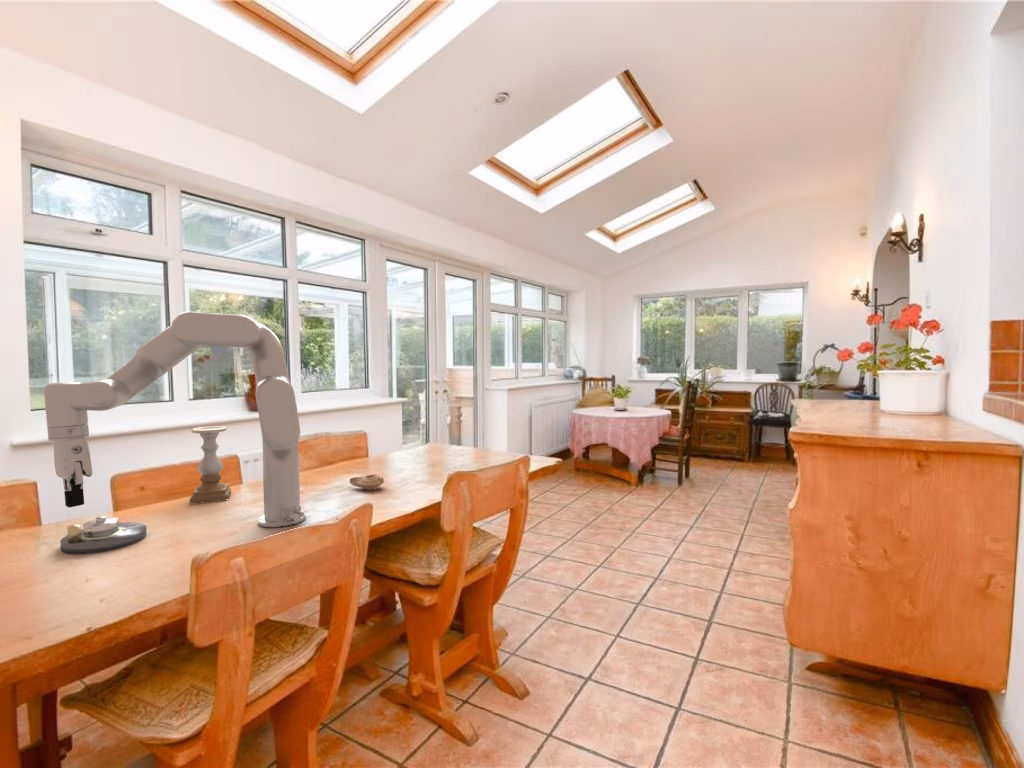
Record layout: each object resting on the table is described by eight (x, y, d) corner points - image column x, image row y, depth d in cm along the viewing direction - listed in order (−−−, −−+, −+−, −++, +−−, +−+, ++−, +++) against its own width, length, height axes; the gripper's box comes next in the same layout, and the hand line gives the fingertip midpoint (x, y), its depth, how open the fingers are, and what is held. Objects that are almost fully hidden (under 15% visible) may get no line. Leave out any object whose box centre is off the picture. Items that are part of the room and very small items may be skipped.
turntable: (162, 530, 135) (161, 508, 134) (107, 554, 118) (106, 530, 117) (103, 528, 136) (102, 507, 135) (40, 552, 119) (39, 528, 118)
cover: (125, 528, 130) (125, 513, 129) (102, 538, 123) (101, 521, 122) (100, 528, 130) (100, 512, 130) (75, 537, 123) (75, 521, 123)
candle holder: (194, 495, 169) (192, 427, 168) (231, 492, 174) (229, 425, 173) (189, 504, 159) (187, 431, 158) (228, 500, 164) (226, 429, 163)
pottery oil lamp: (354, 484, 184) (363, 466, 186) (380, 497, 181) (389, 479, 182) (343, 481, 176) (352, 463, 177) (370, 495, 173) (379, 476, 174)
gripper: (98, 432, 120) (105, 506, 121) (77, 428, 128) (83, 497, 129) (58, 437, 114) (65, 514, 115) (39, 432, 122) (45, 505, 123)
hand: (75, 505), depth 122 cm, fingers closed
